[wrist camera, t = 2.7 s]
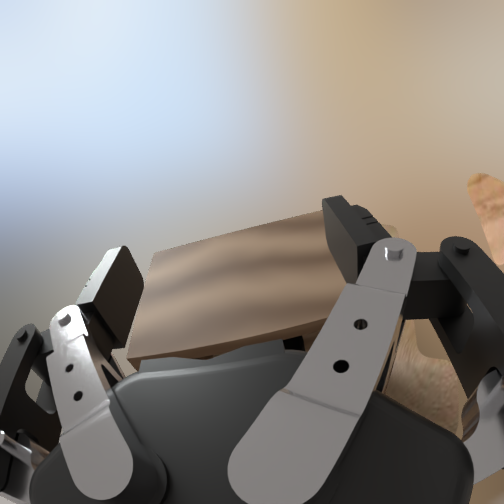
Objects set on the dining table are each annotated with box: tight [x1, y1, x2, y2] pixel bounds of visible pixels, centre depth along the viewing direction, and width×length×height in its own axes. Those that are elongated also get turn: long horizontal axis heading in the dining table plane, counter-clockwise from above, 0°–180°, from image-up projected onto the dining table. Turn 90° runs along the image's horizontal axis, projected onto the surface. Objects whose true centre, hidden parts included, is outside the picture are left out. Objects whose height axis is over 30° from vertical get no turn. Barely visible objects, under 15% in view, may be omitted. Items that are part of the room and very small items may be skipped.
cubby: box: [127, 210, 397, 394], centre depth 34 cm, size 15×22×28 cm
